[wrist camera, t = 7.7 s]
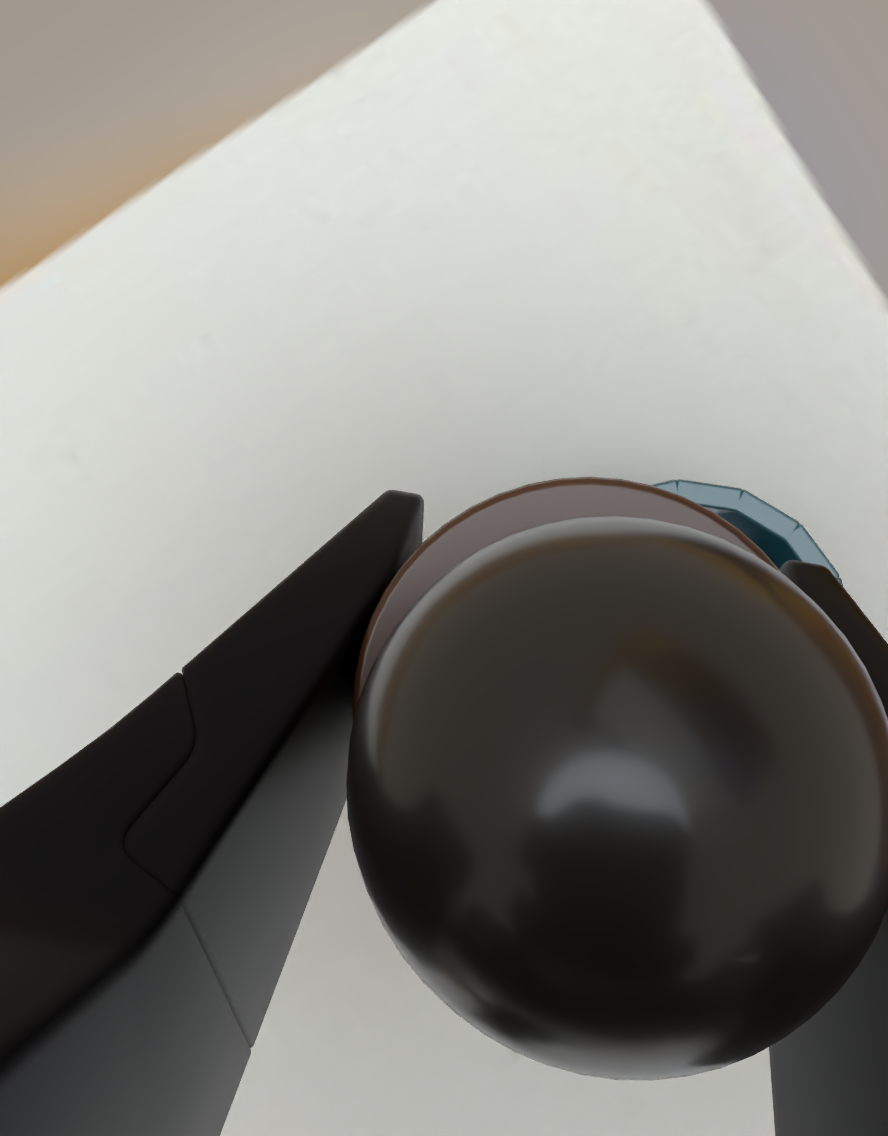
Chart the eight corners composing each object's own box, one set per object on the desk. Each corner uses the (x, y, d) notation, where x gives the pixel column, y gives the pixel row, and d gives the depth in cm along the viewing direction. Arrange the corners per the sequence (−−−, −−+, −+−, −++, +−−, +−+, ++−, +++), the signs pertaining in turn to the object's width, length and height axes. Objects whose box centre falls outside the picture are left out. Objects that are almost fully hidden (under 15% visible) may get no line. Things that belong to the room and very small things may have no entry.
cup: (806, 721, 22) (887, 771, 17) (552, 774, 23) (559, 837, 18) (746, 469, 22) (810, 446, 17) (493, 529, 23) (485, 524, 18)
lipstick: (678, 698, 16) (1264, 1270, 3) (475, 743, 16) (309, 1401, 4) (628, 495, 16) (1023, 292, 3) (425, 545, 16) (95, 534, 4)
